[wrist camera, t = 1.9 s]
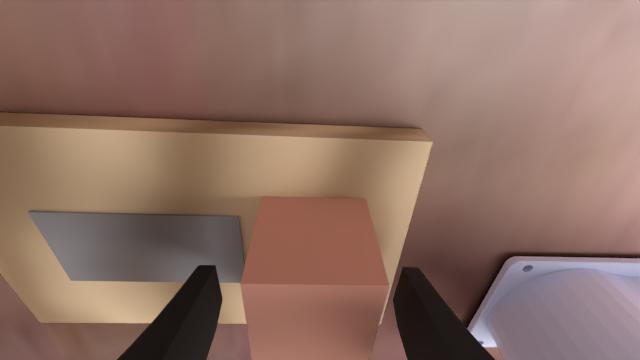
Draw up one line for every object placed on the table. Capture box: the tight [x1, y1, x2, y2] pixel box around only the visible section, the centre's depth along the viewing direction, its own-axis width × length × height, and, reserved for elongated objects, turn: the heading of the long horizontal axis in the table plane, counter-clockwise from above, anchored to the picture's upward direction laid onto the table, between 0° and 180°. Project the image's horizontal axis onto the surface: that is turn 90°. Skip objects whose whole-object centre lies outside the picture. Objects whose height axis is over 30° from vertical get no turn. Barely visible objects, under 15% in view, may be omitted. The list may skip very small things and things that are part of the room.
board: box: [0, 112, 433, 325], centre depth 13 cm, size 18×11×1 cm, turn 87°
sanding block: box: [240, 196, 390, 360], centre depth 11 cm, size 4×6×4 cm, turn 177°
